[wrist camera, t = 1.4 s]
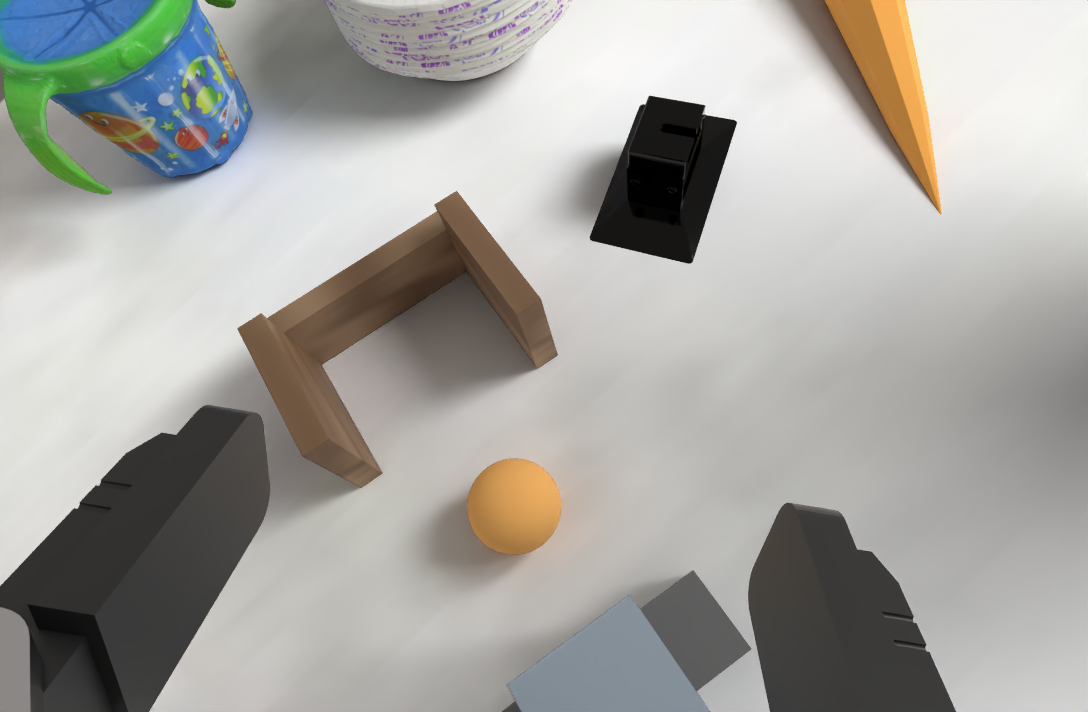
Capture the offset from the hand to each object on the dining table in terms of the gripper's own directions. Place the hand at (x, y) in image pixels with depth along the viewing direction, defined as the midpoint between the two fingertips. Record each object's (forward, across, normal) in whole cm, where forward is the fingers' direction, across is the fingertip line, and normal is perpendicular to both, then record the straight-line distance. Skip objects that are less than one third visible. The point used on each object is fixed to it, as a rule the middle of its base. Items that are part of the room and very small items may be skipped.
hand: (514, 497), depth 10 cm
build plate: (+29, -5, +4) cm, 30 cm away
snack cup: (+34, +24, +7) cm, 42 cm away
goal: (+20, +6, +12) cm, 24 cm away
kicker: (+9, -6, +18) cm, 20 cm away
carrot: (+34, -16, -3) cm, 38 cm away
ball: (+14, 0, +15) cm, 21 cm away
